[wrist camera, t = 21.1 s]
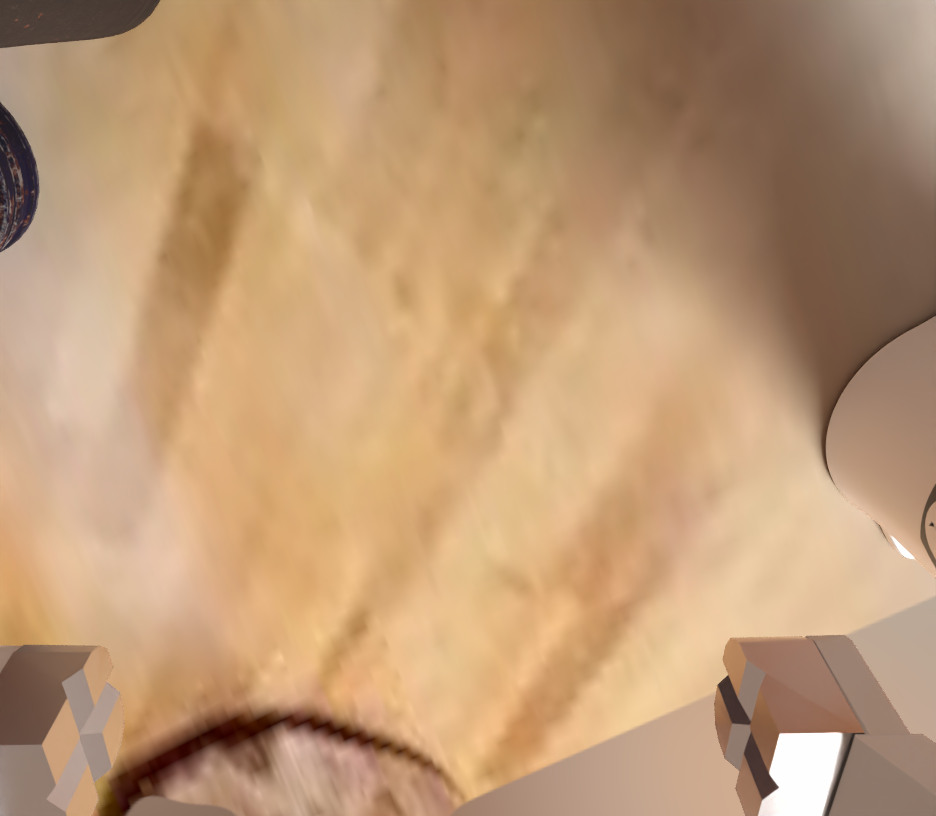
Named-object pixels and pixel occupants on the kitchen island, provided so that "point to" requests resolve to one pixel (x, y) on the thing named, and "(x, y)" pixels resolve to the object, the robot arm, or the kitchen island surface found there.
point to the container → (68, 19)
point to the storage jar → (15, 181)
